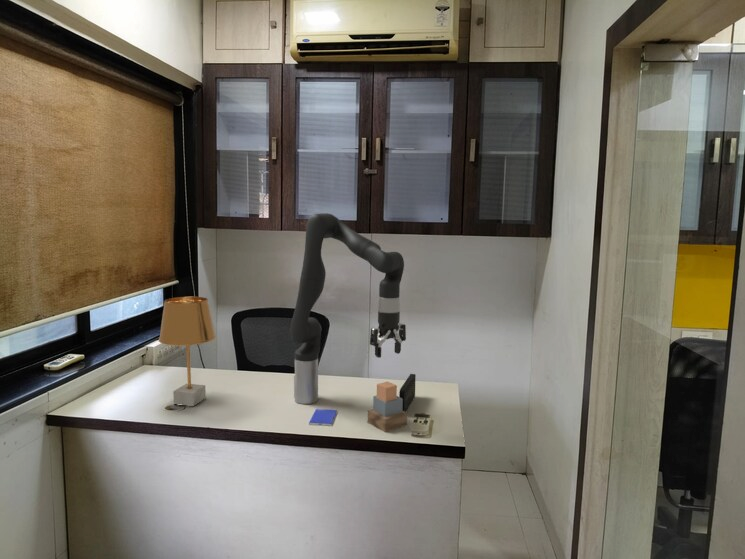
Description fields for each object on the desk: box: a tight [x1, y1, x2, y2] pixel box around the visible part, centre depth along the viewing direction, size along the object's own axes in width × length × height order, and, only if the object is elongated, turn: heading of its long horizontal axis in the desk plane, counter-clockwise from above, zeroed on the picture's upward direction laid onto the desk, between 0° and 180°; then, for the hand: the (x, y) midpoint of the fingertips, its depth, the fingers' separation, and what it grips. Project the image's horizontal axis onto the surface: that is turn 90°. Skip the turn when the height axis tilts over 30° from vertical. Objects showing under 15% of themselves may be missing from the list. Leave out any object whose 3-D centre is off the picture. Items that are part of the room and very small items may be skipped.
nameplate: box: [398, 373, 416, 412], centre depth 201 cm, size 21×2×10 cm, turn 164°
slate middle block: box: [372, 395, 403, 417], centre depth 184 cm, size 8×8×5 cm
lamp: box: [158, 296, 217, 407], centre depth 200 cm, size 21×21×41 cm
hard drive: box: [308, 408, 338, 427], centre depth 188 cm, size 2×8×12 cm
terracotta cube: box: [376, 381, 398, 402], centre depth 182 cm, size 5×5×5 cm
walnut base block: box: [366, 408, 408, 433], centre depth 184 cm, size 10×10×5 cm
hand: (387, 355), depth 180 cm, fingers open, 8 cm apart
